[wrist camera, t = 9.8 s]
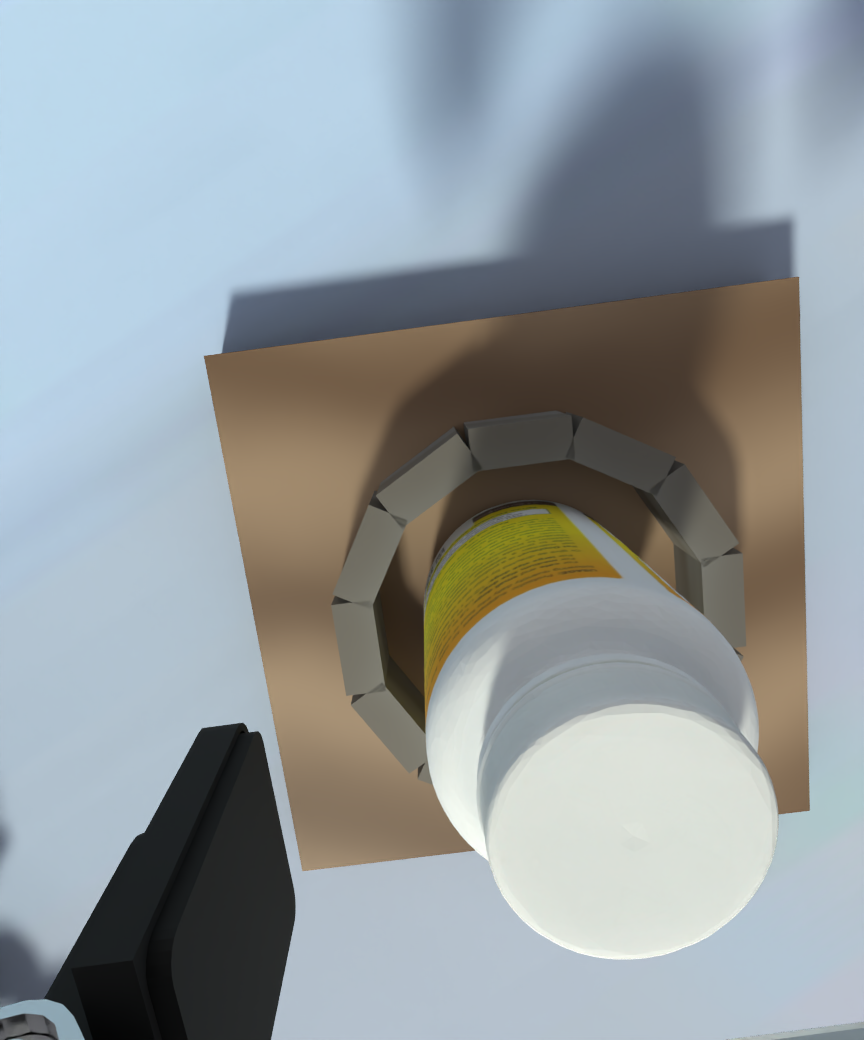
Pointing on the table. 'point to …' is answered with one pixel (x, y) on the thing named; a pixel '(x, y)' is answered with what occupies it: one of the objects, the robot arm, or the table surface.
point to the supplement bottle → (591, 735)
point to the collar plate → (497, 480)
